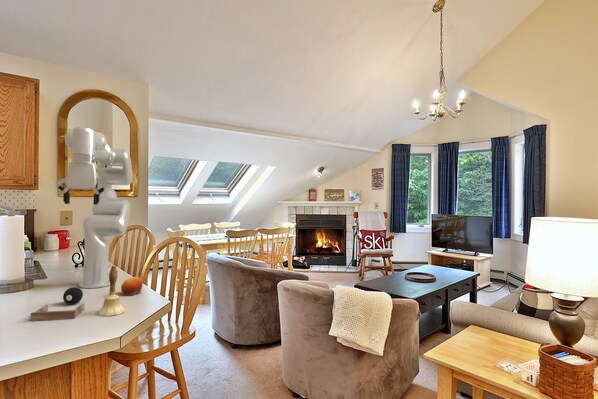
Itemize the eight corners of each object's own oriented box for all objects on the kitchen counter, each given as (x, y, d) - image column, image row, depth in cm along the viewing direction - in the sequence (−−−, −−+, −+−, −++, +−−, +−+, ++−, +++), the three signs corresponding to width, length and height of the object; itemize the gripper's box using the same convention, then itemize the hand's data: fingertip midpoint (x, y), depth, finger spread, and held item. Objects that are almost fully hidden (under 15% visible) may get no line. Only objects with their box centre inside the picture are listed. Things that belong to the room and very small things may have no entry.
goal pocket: (44, 311, 115) (44, 304, 115) (84, 309, 119) (84, 302, 119) (30, 321, 106) (30, 313, 106) (74, 318, 109) (74, 311, 109)
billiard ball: (85, 301, 128) (86, 285, 128) (77, 306, 122) (78, 289, 122) (68, 301, 127) (68, 285, 127) (59, 306, 121) (60, 289, 121)
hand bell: (99, 310, 119) (101, 264, 119) (125, 308, 122) (127, 263, 122) (95, 317, 111) (97, 269, 111) (124, 315, 114) (125, 267, 115)
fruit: (138, 293, 135) (129, 276, 136) (122, 302, 137) (114, 284, 138) (150, 289, 143) (142, 272, 144) (136, 297, 145) (128, 280, 146)
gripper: (110, 162, 137) (108, 204, 136) (61, 159, 132) (59, 203, 131) (105, 160, 129) (104, 205, 129) (53, 157, 124) (51, 203, 124)
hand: (81, 204), depth 130 cm, fingers open, 9 cm apart
